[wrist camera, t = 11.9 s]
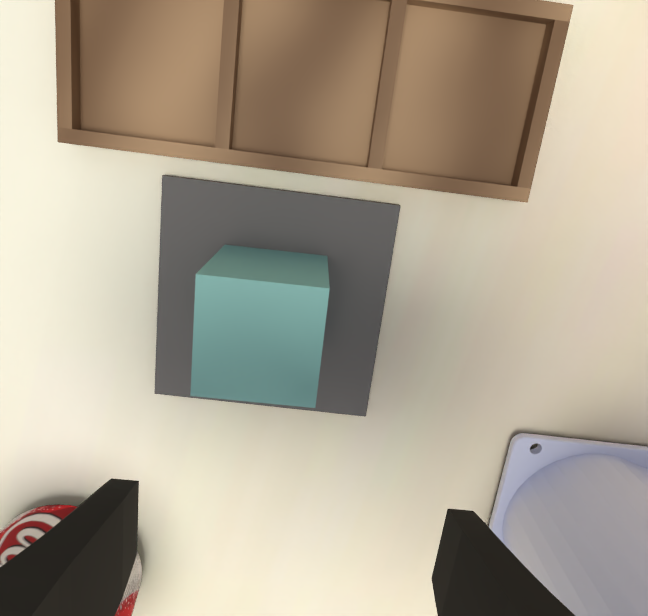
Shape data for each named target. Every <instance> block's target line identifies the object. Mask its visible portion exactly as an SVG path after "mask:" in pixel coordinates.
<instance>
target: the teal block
mask: <svg viewBox="0 0 648 616" xmlns="http://www.w3.org/2000/svg"><path fill="white" fill-rule="evenodd" d="M329 290H330V286H329V273H328V259H327V256H324V255H315V254H306V253H297V252H288V251H278V250H269V249H260V248H251V247H242V246H233V245H224V246H223V247H222V248H221V249H220V250H219V251H218V252H217V253H216V254H215V255H214V256H213V257H212V258H211V259H210V260H209V261H208V262H207V263H206V264H205V265H204V266H203V267H202V268H201V269H200V270H199V271H198V272H197V273H196V279H195V302H194V325H193V348H192V370H191V393H190V396H196V397H207V398H217V399H227V400H237V401H247V402H258V403H268V404H278V405H288V406H298V407H309V408H315V406H316V398H317V390H318V381H319V373H320V365H321V356H322V348H323V340H324V332H325V323H326V315H327V307H328V298H329Z"/></svg>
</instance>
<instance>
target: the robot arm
mask: <svg viewBox="0 0 648 616" xmlns="http://www.w3.org/2000/svg"><path fill="white" fill-rule="evenodd" d="M536 443H538V446H537V447H536V448H534V449H530V447H531V445H533V444H536ZM138 488H139V481H132V480H121V479H111V480H109V481H108V482H107V483H105V484H104V485H103V486H102V487H100V488H99V489H98V490H97V491H96V492H95V493H93V494H92V495H91V496H90V497H89V498H88V499H86V500H85V501H84V502H83V503H82V504H80V505H79V506H78V507H77V508H76V509H75V510H73V511H72V512H71V513H70V514H69V515H67V516H66V517H65V518H64V519H62V520H61V521H60V522H59V523H57V524H56V525H55V526H54V527H53V528H51V529H50V530H49V531H48V532H46V533H45V534H44V535H43V536H41V537H40V538H39V539H37V540H36V541H35V542H34V543H32V544H31V545H30V546H28V547H27V548H26V549H24V550H23V551H21V552H20V553H19V554H17V555H16V556H15V557H13V558H12V559H11V560H9V561H8V562H6V563H5V564H4V565H2V566H1V567H0V616H115V614H116V612H117V609H118V607H119V605H120V603H121V600H122V598H123V595H124V592H125V589H126V586H127V583H128V580H129V577H130V574H131V571H132V568H133V565H134V562H135V559H136V555H137V529H138ZM432 583H433V589H434V596H435V602H436V607H437V613H438V616H648V447H647V446H638V445H628V444H619V443H610V442H601V441H592V440H582V439H573V438H564V437H555V436H546V435H536V434H527V433H520V434H517V435H515V436H514V437H513V438H512V440H511V442H510V446H509V450H508V453H507V457H506V461H505V465H504V469H503V473H502V477H501V481H500V485H499V488H498V492H497V496H496V500H495V504H494V508H493V512H492V516H491V519H490V523H489V527H488V526H487V525H486V524H485V523H484V522H483V521H482V520H481V519H480V518H479V516H478V515H477V514H476V513H475V512H474V511H467V510H456V509H448V510H447V515H446V519H445V523H444V527H443V532H442V536H441V540H440V545H439V549H438V553H437V558H436V562H435V566H434V571H433V575H432Z"/></svg>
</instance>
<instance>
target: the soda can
mask: <svg viewBox="0 0 648 616" xmlns="http://www.w3.org/2000/svg"><path fill="white" fill-rule="evenodd" d="M76 508H77V507H76V506H71V505H46V506H42V507H37V508H34V509H31V510H28V511H26V512H24V513H22V514H20V515H19V516H17V517H15V518H14V519H13V520H12V521H11V522H9V523H8V524H7V525H6V526H5V527H4V528H3V529H2V530H1V531H0V567H1V566H2V565H4V564H5V563H6V562H8V561H9V560H11V559H12V558H13V557H15V556H16V555H17V554H19V553H20V552H21V551H23V550H24V549H26V548H27V547H28V546H30V545H31V544H32V543H34V542H35V541H36V540H37V539H39V538H40V537H41V536H43V535H44V534H45V533H46V532H48V531H49V530H50V529H51V528H53V527H54V526H55V525H56V524H57V523H59V522H60V521H61V520H62V519H64V518H65V517H66V516H67V515H69V514H70V513H71V512H72V511H73V510H75V509H76ZM141 578H142V565H141V560H140V556H139V554H138V551H137V555H136V559H135V562H134V565H133V568H132V571H131V574H130V577H129V580H128V583H127V586H126V589H125V592H124V595H123V598H122V600H121V603H120V605H119V607H118V609H117V612H116V614H115V616H132V613H133V609H134V606H135V602H136V598H137V595H138V591H139V588H140V584H141Z"/></svg>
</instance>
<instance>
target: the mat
mask: <svg viewBox="0 0 648 616" xmlns="http://www.w3.org/2000/svg"><path fill="white" fill-rule="evenodd" d="M399 211H400V205H397V204H389V203H381V202H373V201H365V200H357V199H349V198H342V197H334V196H326V195H318V194H310V193H302V192H294V191H286V190H279V189H271V188H263V187H255V186H247V185H239V184H231V183H223V182H216V181H208V180H200V179H192V178H184V177H176V176H168V175H162V201H161V229H160V257H159V285H158V313H157V341H156V369H155V394H164V395H173V396H182V397H191V398H200V399H210V400H219V401H228V402H237V403H246V404H256V405H265V406H274V407H283V408H292V409H302V410H311V411H320V412H329V413H338V414H348V415H357V416H366V411H367V405H368V399H369V393H370V387H371V381H372V375H373V369H374V363H375V357H376V351H377V345H378V338H379V332H380V326H381V320H382V314H383V308H384V302H385V296H386V290H387V284H388V278H389V272H390V266H391V260H392V254H393V248H394V242H395V236H396V229H397V223H398V217H399ZM224 245H233V246H242V247H251V248H260V249H269V250H278V251H288V252H297V253H306V254H315V255H324V256H327V259H328V273H329V286H330V290H329V298H328V307H327V315H326V323H325V332H324V340H323V348H322V356H321V365H320V373H319V381H318V390H317V398H316V406H315V408H309V407H298V406H288V405H278V404H268V403H258V402H247V401H237V400H227V399H217V398H207V397H196V396H190V393H191V370H192V348H193V325H194V302H195V279H196V273H197V272H198V271H199V270H200V269H201V268H202V267H203V266H204V265H205V264H206V263H207V262H208V261H209V260H210V259H211V258H212V257H213V256H214V255H215V254H216V253H217V252H218V251H219V250H220V249H221V248H222V247H223V246H224Z"/></svg>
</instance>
